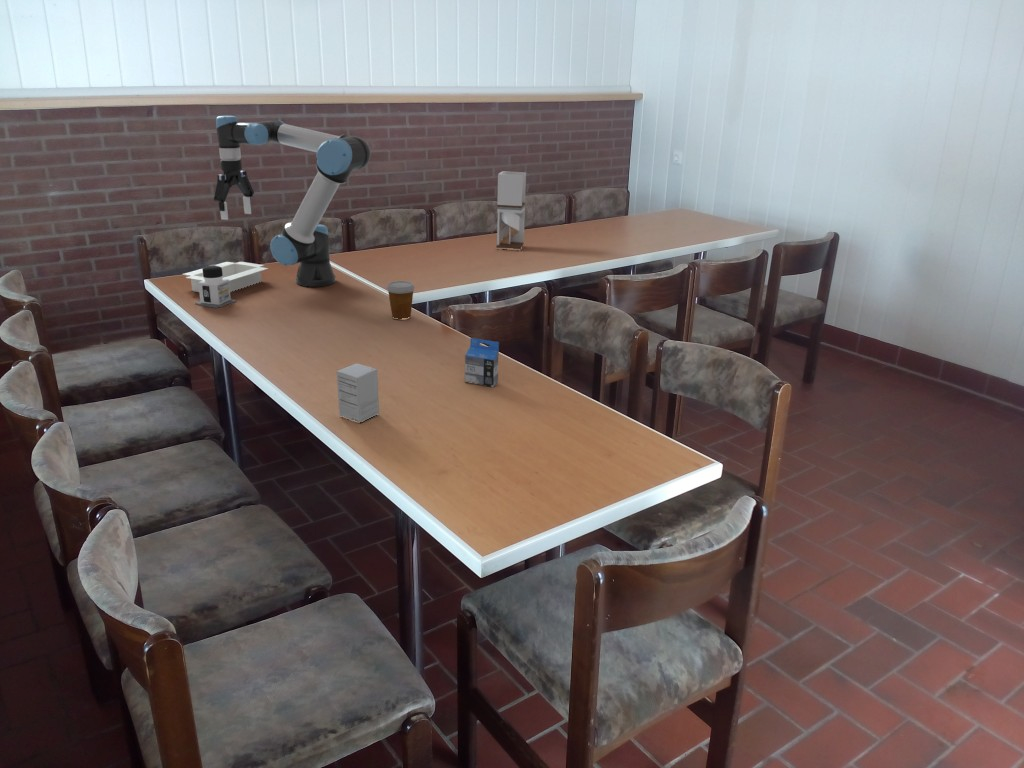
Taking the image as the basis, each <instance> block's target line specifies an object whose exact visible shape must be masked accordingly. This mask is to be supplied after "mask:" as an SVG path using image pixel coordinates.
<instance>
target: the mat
mask: <svg viewBox="0 0 1024 768" xmlns="http://www.w3.org/2000/svg"><path fill="white" fill-rule="evenodd" d="M233 302H234V303H236V302H237V299H232V298H231V299H230V300H229V301H227V302H224V303H222V304H220V305H215V304H205V303H201V302H200V300H199V301H197V302H195V303H194V304H195V305H197V306H203V307H209V308H212V307H213V308H214V309H218V307H219V308H222V307H224V305H225V306H227V304H228V305H231V304H233ZM230 303H231V304H230ZM221 306H222V307H221ZM213 308H212V309H213Z"/></svg>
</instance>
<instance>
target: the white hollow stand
mask: <svg viewBox="0 0 1024 768" xmlns="http://www.w3.org/2000/svg"><path fill="white" fill-rule="evenodd" d="M526 183H527V172H521V171H520V172H519V171H505V170H504V171H503V170H502V171H501V172H499V173H498V174H497V198H496V199H497V203H496V204H497V205H496V207H497V208H496V210H497V211H496V213H497V226H496V227H497V229H496V230H497V231H496V248H513V249H521V247H522V246H523V244H524V243H525V217H526V216H525V213H526V210H525V209H526V187H527V185H526ZM524 245H525V244H524ZM521 250H522V249H521Z"/></svg>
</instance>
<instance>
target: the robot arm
mask: <svg viewBox="0 0 1024 768" xmlns="http://www.w3.org/2000/svg"><path fill="white" fill-rule="evenodd" d="M215 125H216V126H215V127H216V129H215V130H216V134H217V143H218V150H219V159H220V160H219V161H220V170H221V171H222V172H223V174H219V173H218V174H217V177H216V179H217V182H216V187H215V192H214V198H213V201H215V202H217V203H218V209H219V212H220V220H222V221H223V220H225V221H229V214H228V213H229V212H228V203H227V202H226V200H227V196H228V195H229V191H230V190H231V188H232V187H233V186H237V187H238V189H239V190H240V191H241V193H242V194H243V196H242V201H243V202H242V203H243V211H244V212H243V213H244V214H245V215H252V206H251V205H252V201H251V199H252V198H251V197H254V194H255V192H254V189H253V187H252V185H251V182H250V179H249V177H248V175H247V170H243V164H242V163H243V162H242V160H241V158H242V154H241V153H242V152H241V145H251V146H261V145H265V144H266V143H276V144H280V145H284V146H289V147H293V148H297V149H301V150H305V151H309V152H314V153H316V156H315V158H316V159H317V160H316V166H315V168H316V171H317V173H316V175H315V177H314V178H313V181H312V183H311V184H310V186H309V188H308V190H307V192H306V194H305V195H304V198H303V199H302V201H301V203H300V205H299V208H297V211H296V213H295V215H294V217H293V219H292V221H291V222H290V221H289V222H287V223H286V224H285V225H284V227H283V229H282V230H281V233H280V234H277V235H275V236H274V237H273V238H271V241H270V245H269V248H270V251H271V255H272V257H273V259H275V261H276V262H277V263H279V264H280V265H283V266H286V267H288V266H293V265H296V264H298V263H299V266H298V267H297V273H296V276H295V281H296V284H297V285H298V284H299V286H301V285H302V287H307V286H309V287H308V288H320V287H326V286H331V285H334V284H335V283H336V276H335V273H334V270H333V267H332V265H331V260H330V259H331V258H330V241H329V237H330V234H329V230H328V227H327V226H326V225H324V224H320V222H321V220H322V218H323V216H324V214H325V212H326V211H327V209H328V207H329V205H330V204H331V201H332V199H333V198H334V196H335V194H336V192H337V190H338V188H339V186H340V185H344V184H346V183H347V181H348V179H349V178H350V176H351V174H352V172H353V171H358V170H361V169H364V168H365V167H366V166H367V165H368V164H369V162H370V161H371V155H372V151H371V150H372V149H371V148H370V145H369V144H368V142H367V141H366V140H365V139H363V138H362V137H360V136H356V135H349V134H341V135H335V134H331V133H326V132H322V131H318V130H313V129H309V128H305V127H301V126H295V125H292V124H287V123H285V122H284V121H282V120H275V119H271V120H267V121H255V122H254V121H253V122H240V121H238V118H237V116H234V115H219V116H217V117H216V119H215Z"/></svg>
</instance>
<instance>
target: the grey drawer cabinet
mask: <svg viewBox="0 0 1024 768" xmlns="http://www.w3.org/2000/svg"><path fill="white" fill-rule="evenodd" d="M336 381H337V382H336V383H337V398H338V400H337V401H338V414H339V415H340V416H344V417H346V418H349V419H351V420H355V421H357V422H362V421H364V420H366V419H369V418H371V417H373V416H375V415H377V414H379V415H380V400H379V399H380V398H379V397H380V396H379V379H378V369H376V368H374V367H371V366H368V365H364V364H360V363H354V364H352V365H351V364H350V365H349V366H347V367H344V368H341V369H340V370H339V369H338V370H337V371H336ZM340 416H339V417H340ZM377 416H378V415H377ZM375 417H376V416H375ZM373 418H374V417H373ZM371 419H372V418H371ZM369 420H370V419H369Z"/></svg>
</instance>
